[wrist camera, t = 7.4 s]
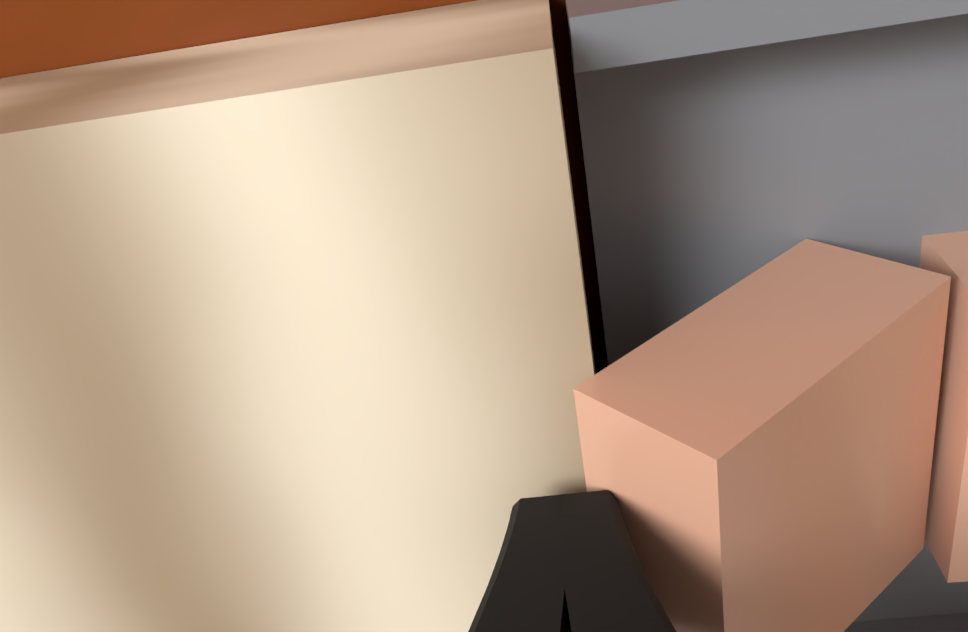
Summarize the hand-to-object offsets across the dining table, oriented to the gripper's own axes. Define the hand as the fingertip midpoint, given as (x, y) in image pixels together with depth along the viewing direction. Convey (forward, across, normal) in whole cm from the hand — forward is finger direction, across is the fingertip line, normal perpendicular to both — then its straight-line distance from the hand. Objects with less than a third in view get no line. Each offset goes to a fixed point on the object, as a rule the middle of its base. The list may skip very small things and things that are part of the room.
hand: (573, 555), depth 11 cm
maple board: (+4, +6, 0) cm, 7 cm away
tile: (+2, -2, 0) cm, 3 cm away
